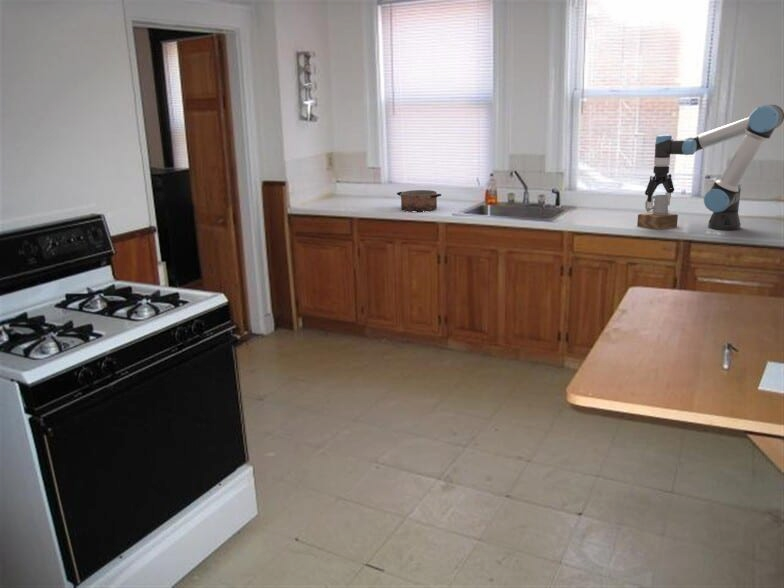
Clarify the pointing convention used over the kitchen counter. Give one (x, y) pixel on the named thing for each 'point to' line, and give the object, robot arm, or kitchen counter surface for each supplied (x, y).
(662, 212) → the mug
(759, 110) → the robot arm
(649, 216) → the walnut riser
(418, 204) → the cooking pot
